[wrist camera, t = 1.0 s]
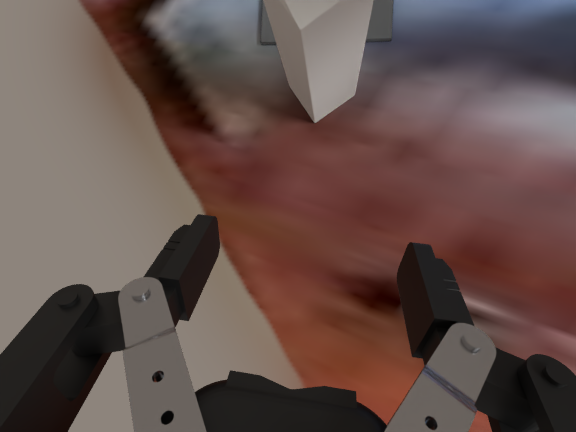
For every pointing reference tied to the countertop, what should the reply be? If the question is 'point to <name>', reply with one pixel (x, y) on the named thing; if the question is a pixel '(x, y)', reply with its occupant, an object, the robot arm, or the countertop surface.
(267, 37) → the mat
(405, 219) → the countertop surface
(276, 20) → the milk
